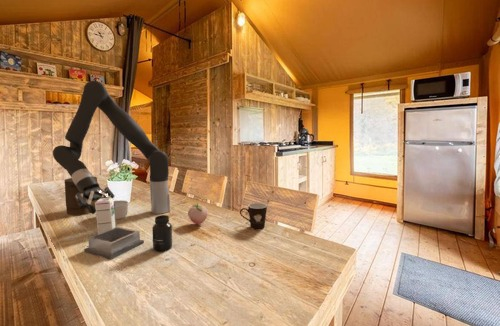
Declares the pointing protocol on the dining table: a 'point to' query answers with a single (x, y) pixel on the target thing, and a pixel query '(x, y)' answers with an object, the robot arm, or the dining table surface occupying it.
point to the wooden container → (71, 202)
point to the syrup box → (105, 214)
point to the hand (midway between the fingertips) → (104, 209)
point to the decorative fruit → (197, 214)
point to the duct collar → (113, 242)
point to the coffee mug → (256, 215)
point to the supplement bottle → (162, 234)
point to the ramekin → (120, 209)
